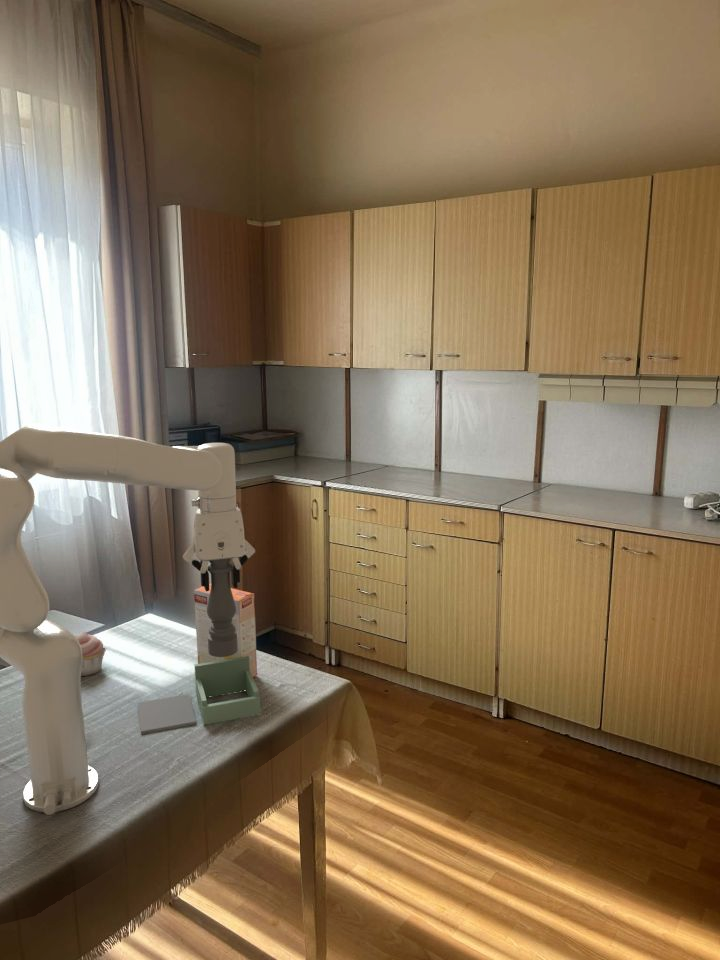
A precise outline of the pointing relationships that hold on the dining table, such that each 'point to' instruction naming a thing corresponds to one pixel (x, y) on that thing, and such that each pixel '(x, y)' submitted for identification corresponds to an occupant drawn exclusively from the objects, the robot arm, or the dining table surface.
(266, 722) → the dining table surface
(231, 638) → the candle holder
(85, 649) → the cupcake
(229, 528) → the robot arm
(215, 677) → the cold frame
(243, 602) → the cracker box
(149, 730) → the slate mat
